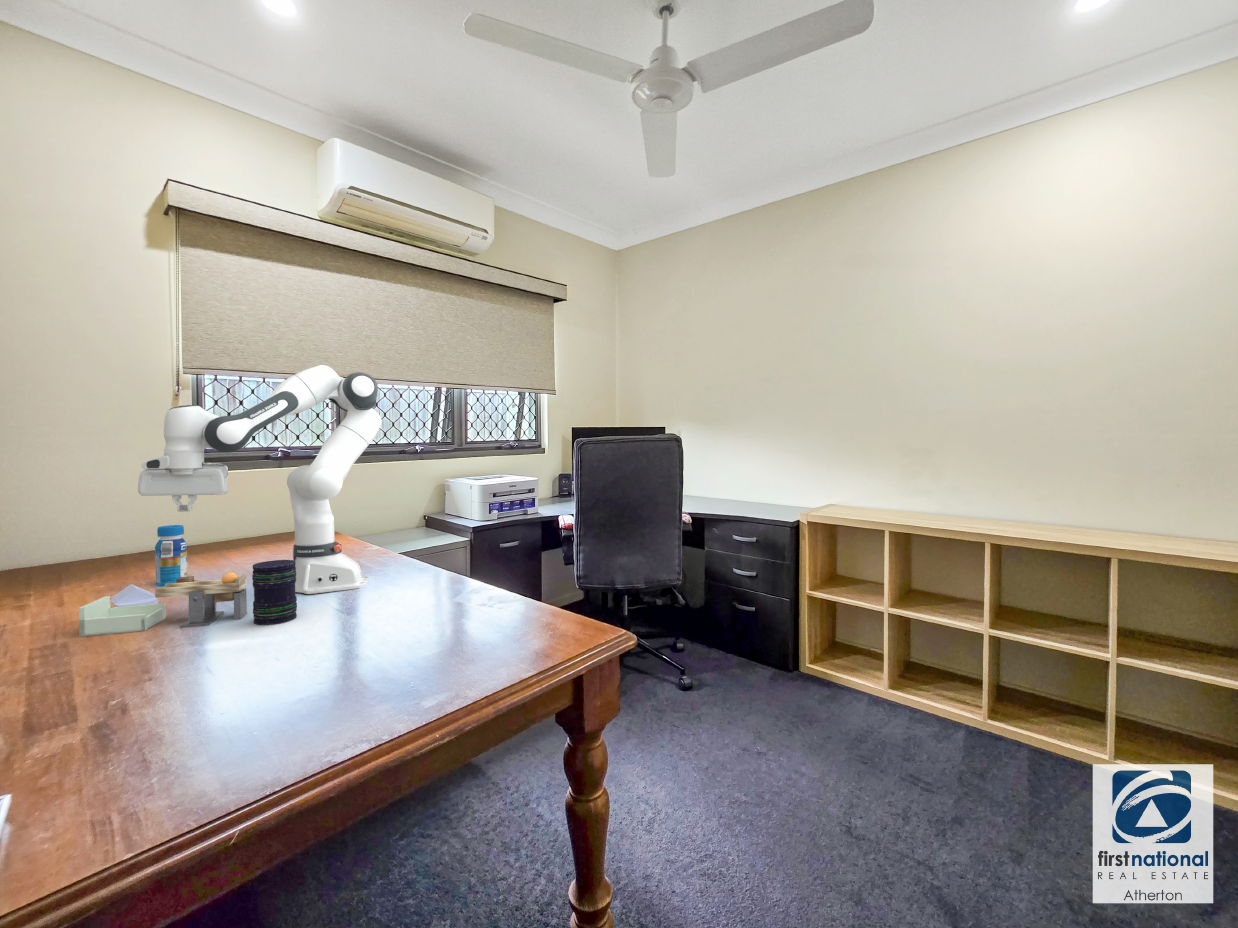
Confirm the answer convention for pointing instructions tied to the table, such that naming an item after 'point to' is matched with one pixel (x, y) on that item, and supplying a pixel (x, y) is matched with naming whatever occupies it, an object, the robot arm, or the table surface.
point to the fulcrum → (211, 608)
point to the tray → (118, 617)
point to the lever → (203, 588)
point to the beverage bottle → (170, 555)
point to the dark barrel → (274, 592)
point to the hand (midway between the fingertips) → (184, 511)
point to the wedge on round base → (133, 597)
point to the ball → (229, 578)
